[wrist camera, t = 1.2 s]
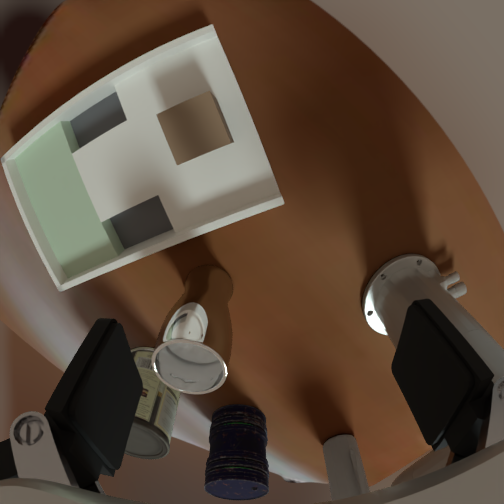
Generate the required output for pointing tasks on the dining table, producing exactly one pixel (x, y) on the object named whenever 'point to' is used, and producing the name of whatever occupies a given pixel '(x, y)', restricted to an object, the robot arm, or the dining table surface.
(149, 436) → the coffee can
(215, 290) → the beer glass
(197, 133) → the walnut block
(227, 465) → the storage jar
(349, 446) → the water bottle
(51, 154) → the box
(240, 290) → the dining table surface
